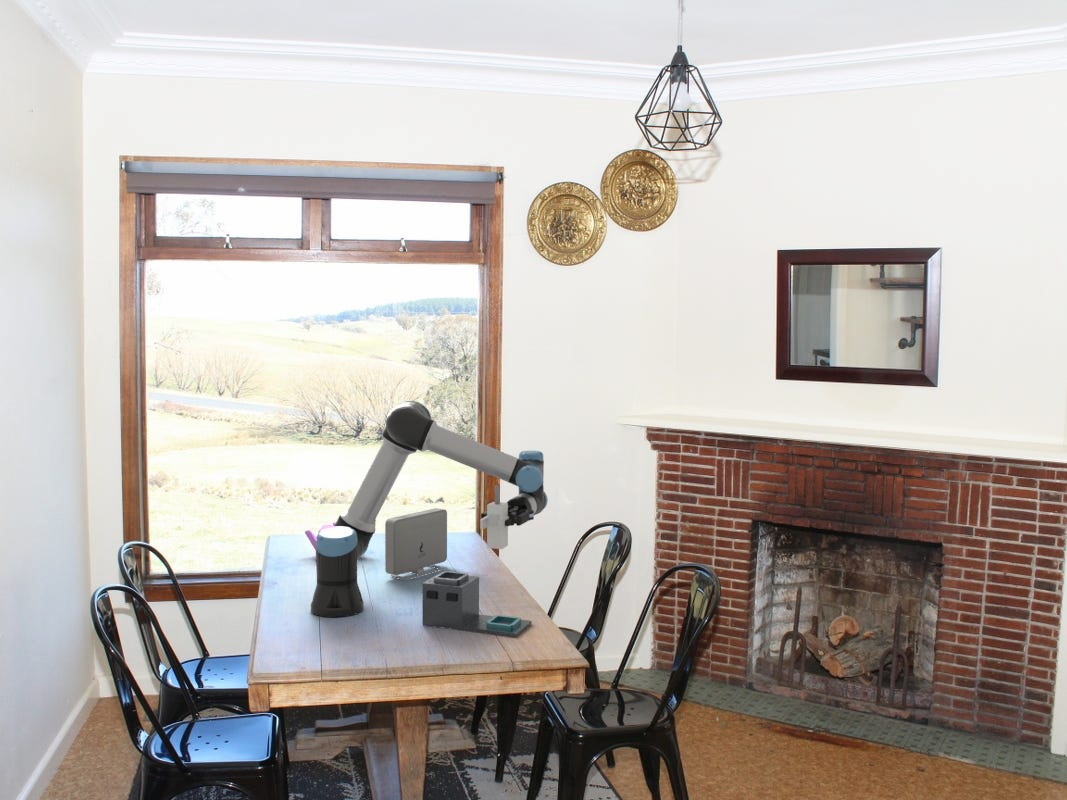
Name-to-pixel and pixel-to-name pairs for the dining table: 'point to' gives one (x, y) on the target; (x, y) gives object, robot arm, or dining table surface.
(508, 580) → the dining table surface
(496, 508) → the plug
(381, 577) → the dining table surface
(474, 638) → the dining table surface
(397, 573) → the network device
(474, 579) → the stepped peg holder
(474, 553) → the dining table surface
